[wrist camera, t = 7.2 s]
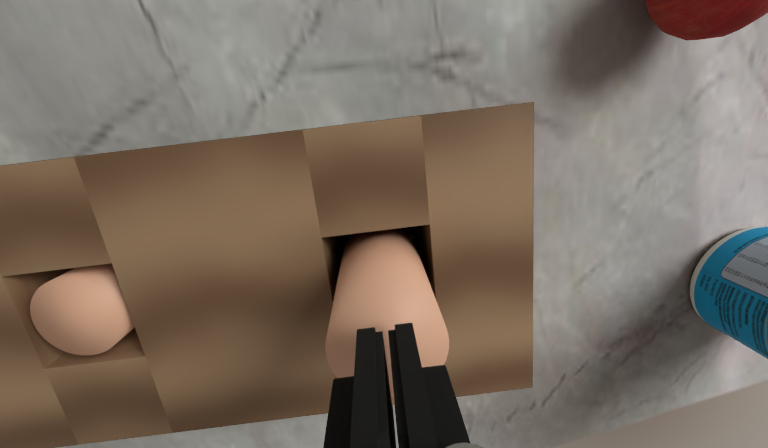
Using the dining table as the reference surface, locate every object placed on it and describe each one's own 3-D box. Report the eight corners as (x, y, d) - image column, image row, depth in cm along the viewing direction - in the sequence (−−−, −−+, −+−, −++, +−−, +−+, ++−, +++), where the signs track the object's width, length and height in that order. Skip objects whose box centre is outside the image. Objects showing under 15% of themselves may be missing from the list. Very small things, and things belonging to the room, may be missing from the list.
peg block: (24, 162, 22) (-163, 185, 14) (476, 108, 22) (534, 102, 14) (101, 355, 26) (-12, 455, 18) (483, 308, 26) (532, 387, 18)
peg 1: (127, 232, 23) (15, 283, 16) (189, 224, 23) (106, 272, 16) (145, 288, 24) (49, 360, 17) (204, 281, 24) (134, 349, 17)
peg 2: (336, 228, 18) (315, 300, 11) (414, 219, 18) (445, 284, 11) (347, 298, 19) (335, 405, 12) (421, 289, 19) (452, 390, 12)
